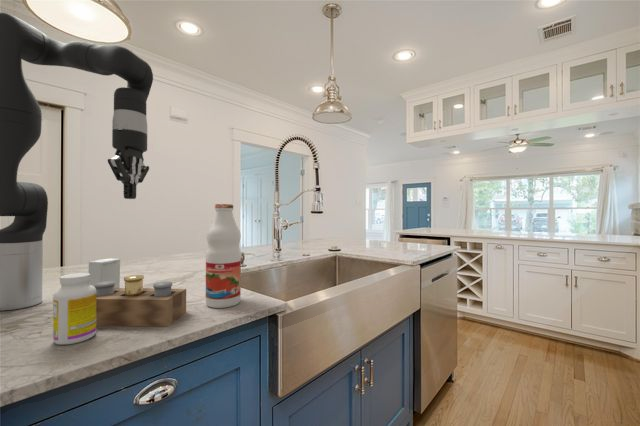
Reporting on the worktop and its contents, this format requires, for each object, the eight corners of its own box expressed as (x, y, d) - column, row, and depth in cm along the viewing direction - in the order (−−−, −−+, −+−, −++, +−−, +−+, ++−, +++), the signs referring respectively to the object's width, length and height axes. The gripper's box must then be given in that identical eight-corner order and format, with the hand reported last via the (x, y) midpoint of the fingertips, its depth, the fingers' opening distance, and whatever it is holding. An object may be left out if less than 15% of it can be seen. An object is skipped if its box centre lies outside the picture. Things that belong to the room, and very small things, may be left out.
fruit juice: (244, 298, 85) (245, 204, 85) (235, 309, 76) (236, 204, 75) (212, 297, 85) (213, 204, 85) (199, 308, 76) (200, 203, 75)
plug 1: (89, 315, 66) (90, 285, 66) (102, 309, 70) (103, 280, 70) (106, 315, 66) (107, 285, 66) (119, 309, 70) (119, 281, 70)
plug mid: (119, 308, 66) (119, 278, 66) (131, 303, 70) (131, 274, 70) (136, 309, 66) (136, 278, 66) (147, 303, 70) (147, 274, 70)
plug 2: (149, 315, 66) (149, 285, 66) (159, 309, 70) (159, 281, 70) (166, 316, 66) (166, 285, 66) (175, 310, 70) (175, 281, 70)
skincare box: (100, 307, 76) (100, 262, 76) (87, 305, 77) (87, 261, 77) (120, 300, 82) (120, 258, 82) (108, 298, 83) (108, 258, 83)
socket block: (74, 325, 64) (74, 298, 64) (104, 311, 73) (104, 287, 73) (167, 326, 64) (167, 299, 64) (186, 312, 73) (186, 288, 73)
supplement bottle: (104, 331, 61) (104, 271, 61) (79, 346, 54) (79, 279, 54) (72, 331, 61) (72, 271, 61) (43, 346, 54) (43, 279, 54)
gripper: (132, 138, 80) (132, 199, 80) (95, 123, 67) (95, 197, 67) (159, 138, 80) (159, 200, 80) (127, 123, 66) (126, 197, 67)
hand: (129, 198), depth 73 cm, fingers closed
